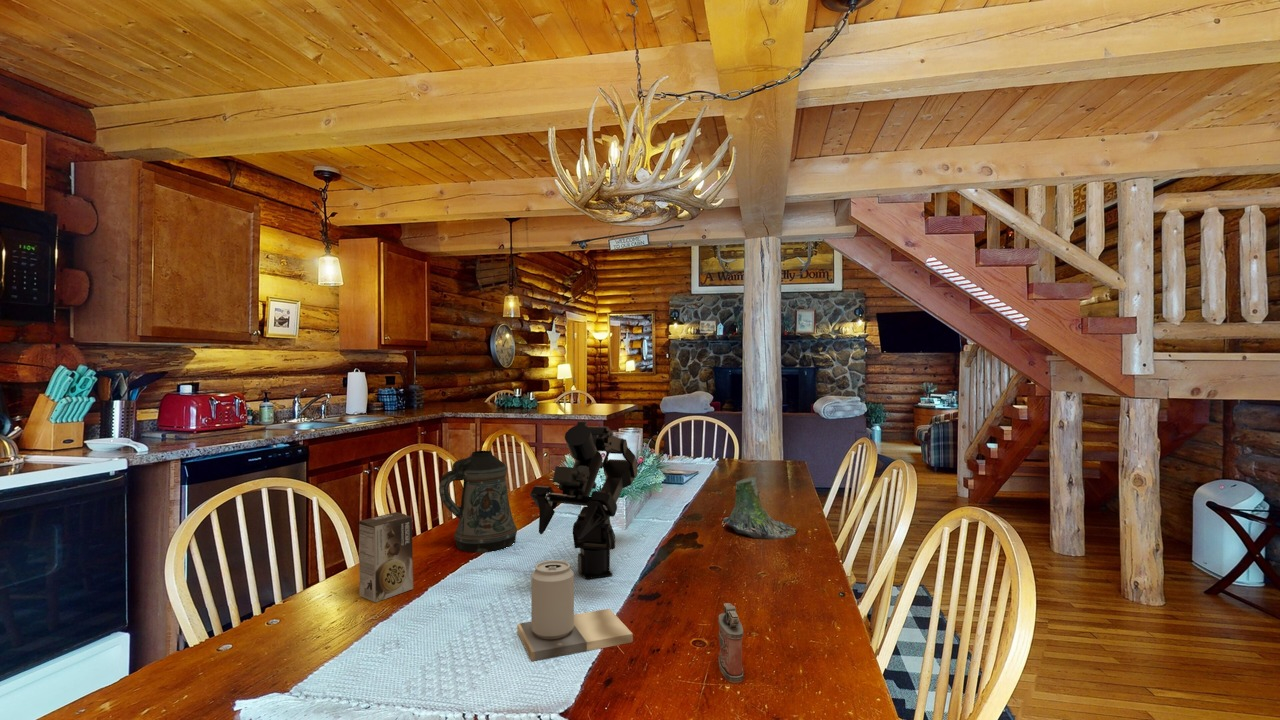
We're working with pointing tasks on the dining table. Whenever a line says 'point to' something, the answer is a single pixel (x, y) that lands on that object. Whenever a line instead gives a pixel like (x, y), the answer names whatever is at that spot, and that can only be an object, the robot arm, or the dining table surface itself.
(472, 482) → the beer stein
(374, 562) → the coffee box
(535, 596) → the can
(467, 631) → the dining table surface
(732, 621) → the lighter
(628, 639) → the subfloor panel
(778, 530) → the tree stump
